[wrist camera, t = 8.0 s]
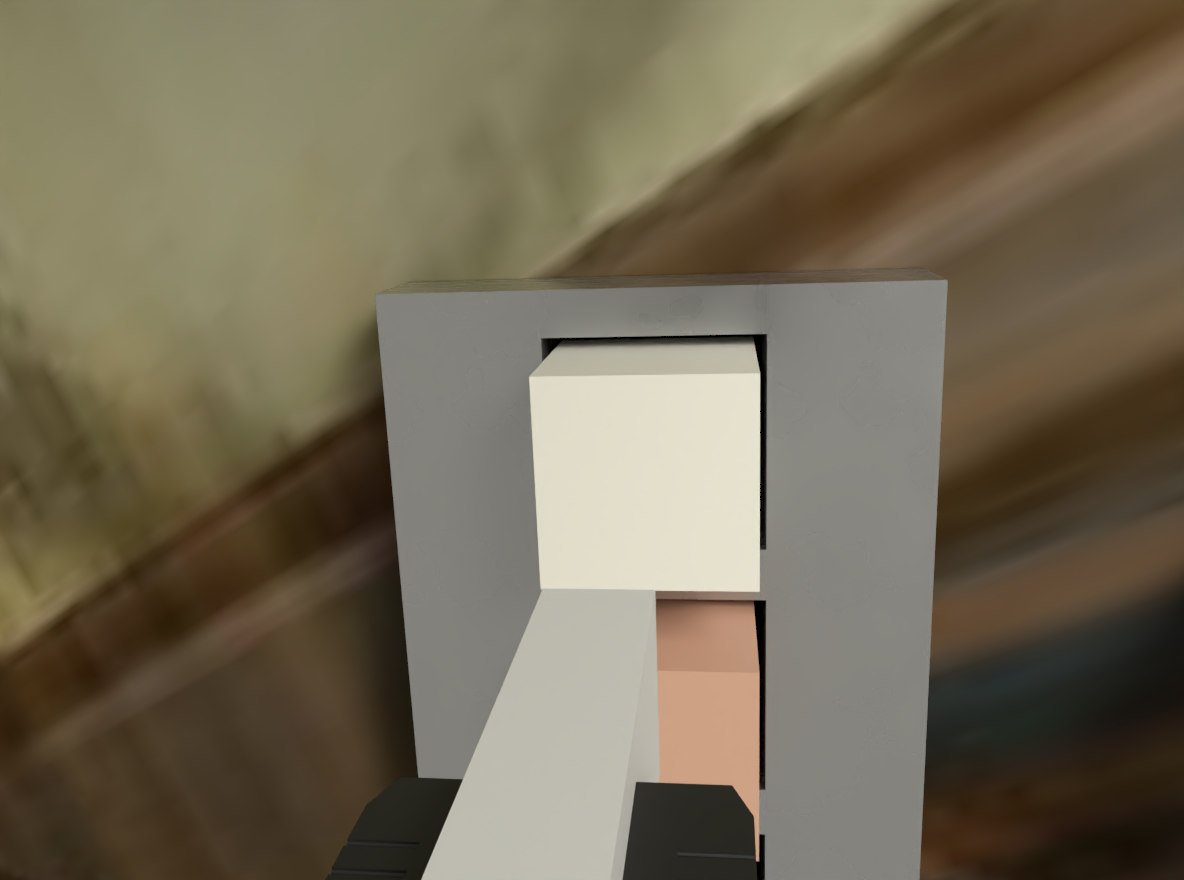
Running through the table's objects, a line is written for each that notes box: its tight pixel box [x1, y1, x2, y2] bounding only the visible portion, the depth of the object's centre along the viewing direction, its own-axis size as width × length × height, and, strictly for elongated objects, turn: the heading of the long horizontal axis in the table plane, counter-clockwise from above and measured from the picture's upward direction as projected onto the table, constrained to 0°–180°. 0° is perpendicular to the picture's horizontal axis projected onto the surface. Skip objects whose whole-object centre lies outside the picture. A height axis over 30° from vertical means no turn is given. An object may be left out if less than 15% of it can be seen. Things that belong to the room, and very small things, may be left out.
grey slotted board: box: [375, 268, 948, 880], centre depth 30 cm, size 22×14×3 cm, turn 2°
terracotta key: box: [656, 599, 759, 861], centre depth 27 cm, size 5×5×5 cm
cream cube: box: [529, 337, 760, 592], centre depth 25 cm, size 5×5×5 cm
